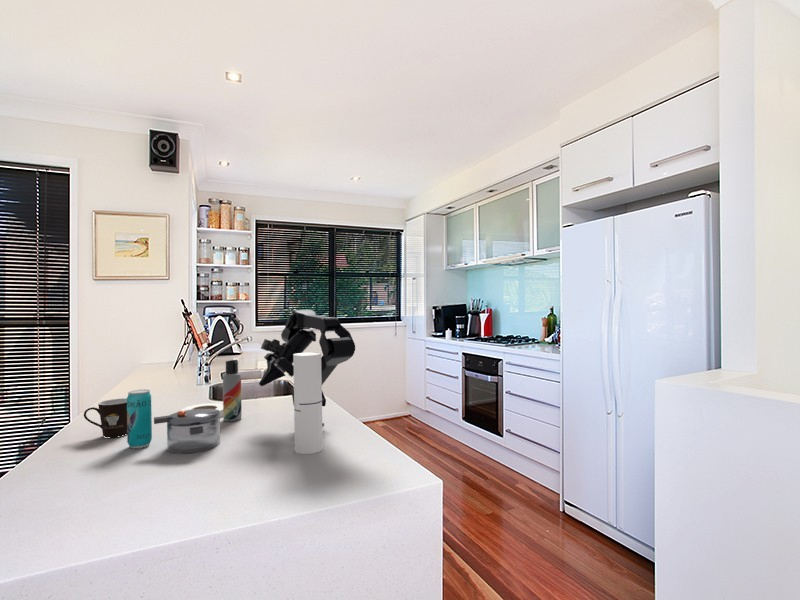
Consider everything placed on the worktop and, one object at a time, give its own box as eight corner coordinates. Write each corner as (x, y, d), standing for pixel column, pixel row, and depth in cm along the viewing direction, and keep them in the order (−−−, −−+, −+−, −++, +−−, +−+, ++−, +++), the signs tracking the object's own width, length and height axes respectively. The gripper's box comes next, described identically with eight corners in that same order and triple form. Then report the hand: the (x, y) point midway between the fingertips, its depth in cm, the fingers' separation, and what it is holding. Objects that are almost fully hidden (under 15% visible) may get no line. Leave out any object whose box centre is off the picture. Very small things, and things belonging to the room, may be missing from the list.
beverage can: (122, 447, 118) (122, 392, 118) (143, 441, 123) (143, 388, 123) (135, 451, 115) (134, 394, 115) (156, 444, 120) (155, 390, 120)
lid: (216, 410, 128) (216, 402, 128) (222, 420, 116) (222, 411, 116) (154, 418, 120) (153, 409, 120) (153, 430, 108) (153, 420, 108)
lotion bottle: (229, 422, 141) (228, 361, 141) (219, 420, 145) (219, 360, 145) (245, 418, 146) (244, 359, 146) (235, 416, 149) (234, 358, 149)
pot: (216, 433, 130) (215, 409, 130) (224, 450, 114) (223, 423, 114) (166, 440, 123) (166, 416, 123) (168, 459, 108) (167, 431, 108)
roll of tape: (237, 413, 154) (237, 405, 154) (197, 424, 141) (197, 415, 141) (210, 408, 163) (210, 401, 163) (170, 418, 150) (170, 410, 150)
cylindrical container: (316, 454, 110) (314, 355, 110) (290, 453, 111) (288, 355, 111) (326, 445, 117) (325, 352, 117) (301, 444, 118) (300, 352, 118)
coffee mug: (139, 431, 134) (139, 398, 134) (118, 439, 125) (118, 405, 125) (104, 430, 135) (104, 398, 135) (81, 439, 126) (81, 404, 126)
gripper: (270, 328, 144) (235, 364, 138) (284, 331, 127) (245, 372, 122) (294, 350, 147) (261, 386, 142) (311, 356, 131) (274, 397, 126)
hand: (260, 385), depth 133 cm, fingers closed
